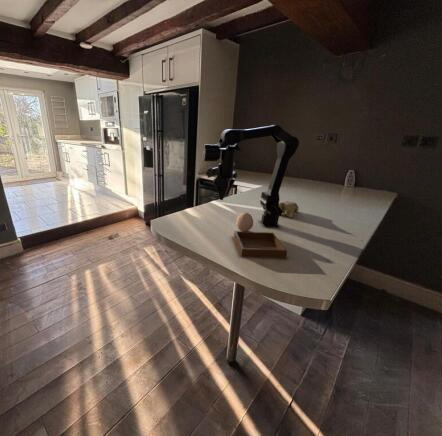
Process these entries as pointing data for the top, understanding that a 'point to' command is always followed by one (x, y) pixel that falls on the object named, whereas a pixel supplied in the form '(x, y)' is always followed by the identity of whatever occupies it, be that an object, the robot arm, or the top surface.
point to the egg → (244, 222)
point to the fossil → (288, 208)
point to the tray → (259, 245)
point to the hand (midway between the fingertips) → (224, 197)
